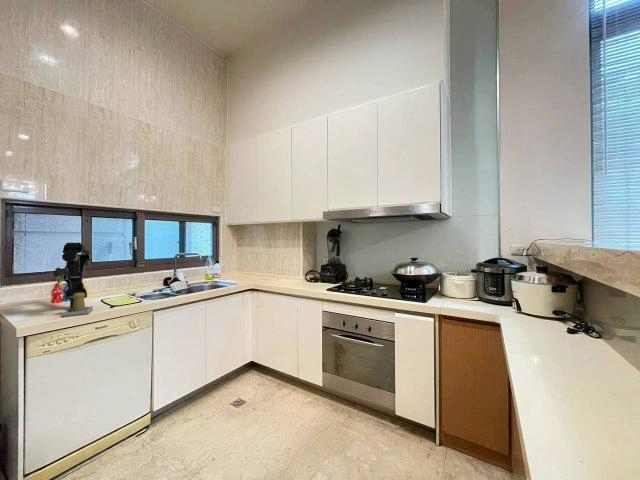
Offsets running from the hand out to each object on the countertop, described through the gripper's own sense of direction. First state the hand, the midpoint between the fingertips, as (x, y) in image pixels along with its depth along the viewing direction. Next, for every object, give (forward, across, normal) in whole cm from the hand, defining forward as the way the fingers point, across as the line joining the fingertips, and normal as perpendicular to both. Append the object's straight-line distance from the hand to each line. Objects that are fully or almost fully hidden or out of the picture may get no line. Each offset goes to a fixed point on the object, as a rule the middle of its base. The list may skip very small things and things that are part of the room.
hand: (71, 290), depth 148 cm
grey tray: (+13, +3, +3) cm, 14 cm away
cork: (+13, +3, +3) cm, 13 cm away
